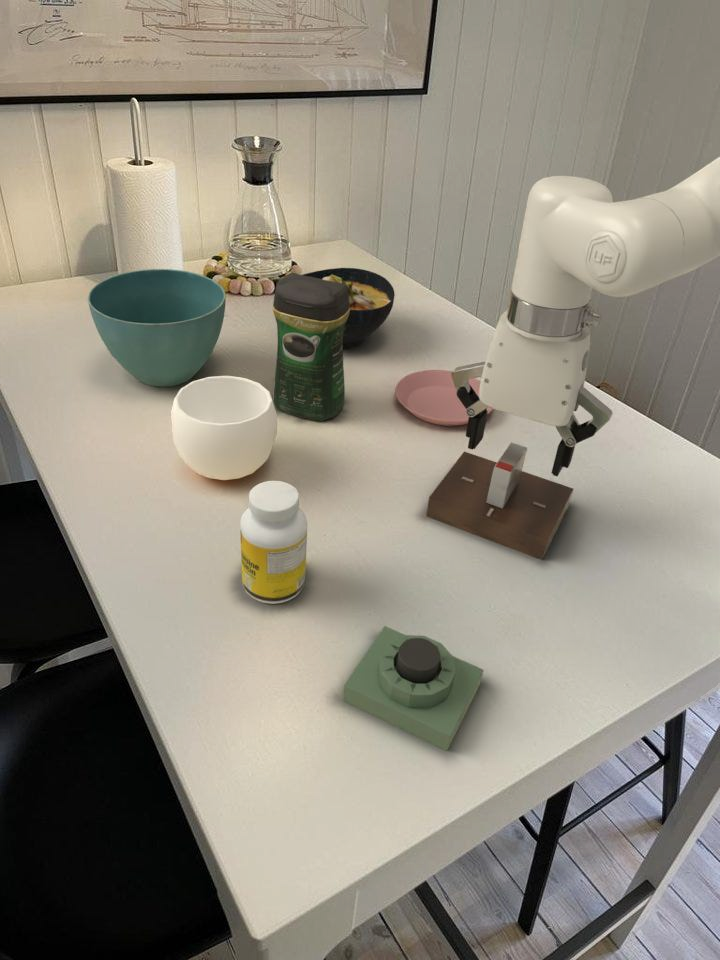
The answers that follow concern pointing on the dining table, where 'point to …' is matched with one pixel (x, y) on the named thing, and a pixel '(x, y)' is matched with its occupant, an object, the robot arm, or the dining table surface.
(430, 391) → the plate
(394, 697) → the switch block
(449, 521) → the brown dial block
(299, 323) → the coffee jar
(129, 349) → the teal mixing bowl
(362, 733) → the dining table surface
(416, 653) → the button
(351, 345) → the bowl
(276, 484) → the pill bottle
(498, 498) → the red-tipped white block
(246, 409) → the cup
